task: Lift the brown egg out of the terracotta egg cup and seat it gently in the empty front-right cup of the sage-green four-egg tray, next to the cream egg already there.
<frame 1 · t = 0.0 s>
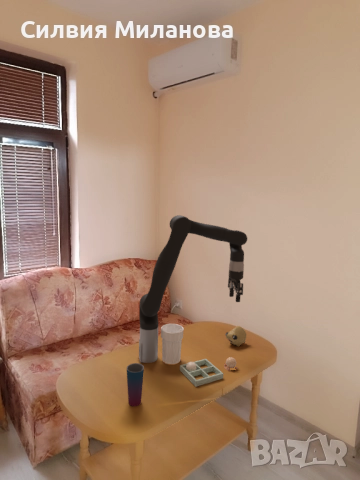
hand: (234, 299, 170), 29 cm above the table, fingers open, 8 cm apart
yellow toy animal head: (235, 345, 182), on the table
cream egg: (191, 372, 152), resting on egg tray
cup: (134, 402, 129), on the table
cup 2: (171, 361, 162), on the table
egg tray: (201, 375, 150), on the table
egg cup: (230, 368, 157), on the table
brown egg: (230, 367, 157), point 1 cm above the table, touching egg cup
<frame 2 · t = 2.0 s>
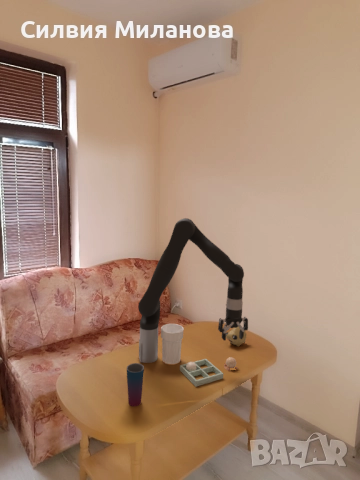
hand: (232, 339, 155), 15 cm above the table, fingers open, 8 cm apart
nothing on the table moved.
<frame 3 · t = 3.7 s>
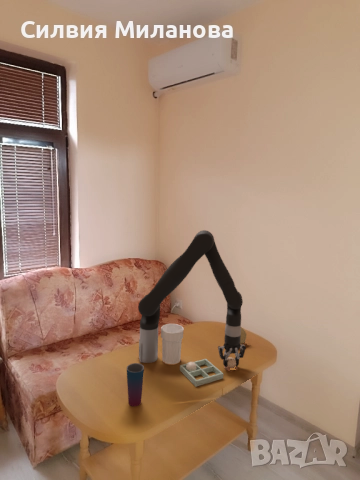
hand: (230, 365, 157), 1 cm above the table, fingers closed on brown egg, 5 cm apart
brown egg: (230, 367, 157), point 1 cm above the table, touching egg cup, gripper
everything else where it was.
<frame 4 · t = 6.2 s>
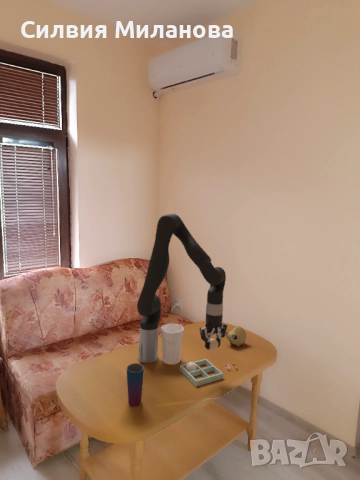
hand: (212, 347, 147), 15 cm above the table, fingers closed on brown egg, 5 cm apart
brown egg: (212, 349, 147), point 14 cm above the table, touching gripper
everything else where it was.
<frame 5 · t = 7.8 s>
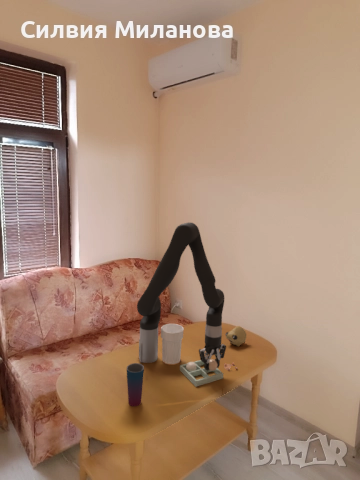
hand: (211, 368, 148), 5 cm above the table, fingers closed on brown egg, 5 cm apart
brown egg: (211, 369, 148), point 4 cm above the table, touching gripper
everything else where it was.
when the fingers open (3 cm above the table, at t = 9.0 s): brown egg drops 2 cm, resting on egg tray.
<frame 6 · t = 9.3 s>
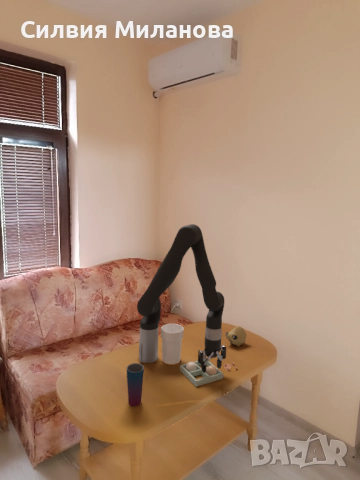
hand: (211, 369, 148), 4 cm above the table, fingers open, 7 cm apart
brown egg: (211, 376, 149), resting on egg tray
everything else where it was.
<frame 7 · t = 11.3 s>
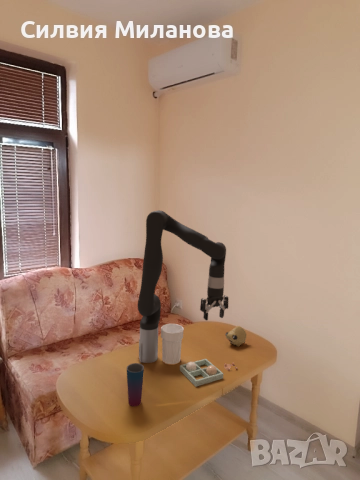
hand: (213, 318, 152), 25 cm above the table, fingers open, 8 cm apart
nothing on the table moved.
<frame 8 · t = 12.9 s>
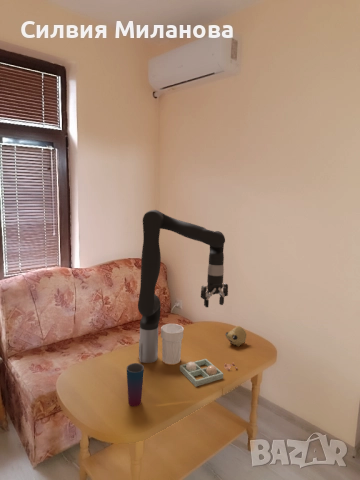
hand: (213, 305, 156), 30 cm above the table, fingers open, 8 cm apart
nothing on the table moved.
at the end: brown egg 0.1 cm from the target spot on the egg tray, point 0.5 cm above the egg tray's base; the gripper is holding nothing; cream egg moved 0.0 cm from its start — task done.
